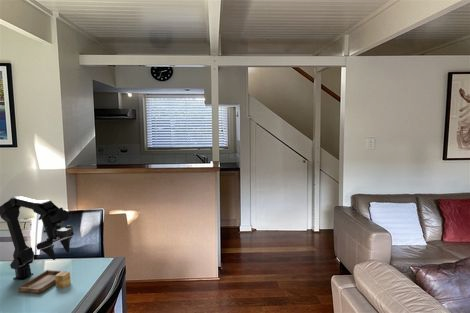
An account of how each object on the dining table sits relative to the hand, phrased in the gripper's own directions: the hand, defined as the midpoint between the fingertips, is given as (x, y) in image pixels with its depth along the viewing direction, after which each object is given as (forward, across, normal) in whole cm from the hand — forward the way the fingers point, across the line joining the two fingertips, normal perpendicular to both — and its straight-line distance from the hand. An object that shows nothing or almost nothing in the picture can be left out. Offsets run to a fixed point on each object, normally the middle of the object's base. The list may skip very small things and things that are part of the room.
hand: (61, 256), depth 158 cm
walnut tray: (+10, 0, +15) cm, 18 cm away
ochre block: (+14, 0, +4) cm, 15 cm away
